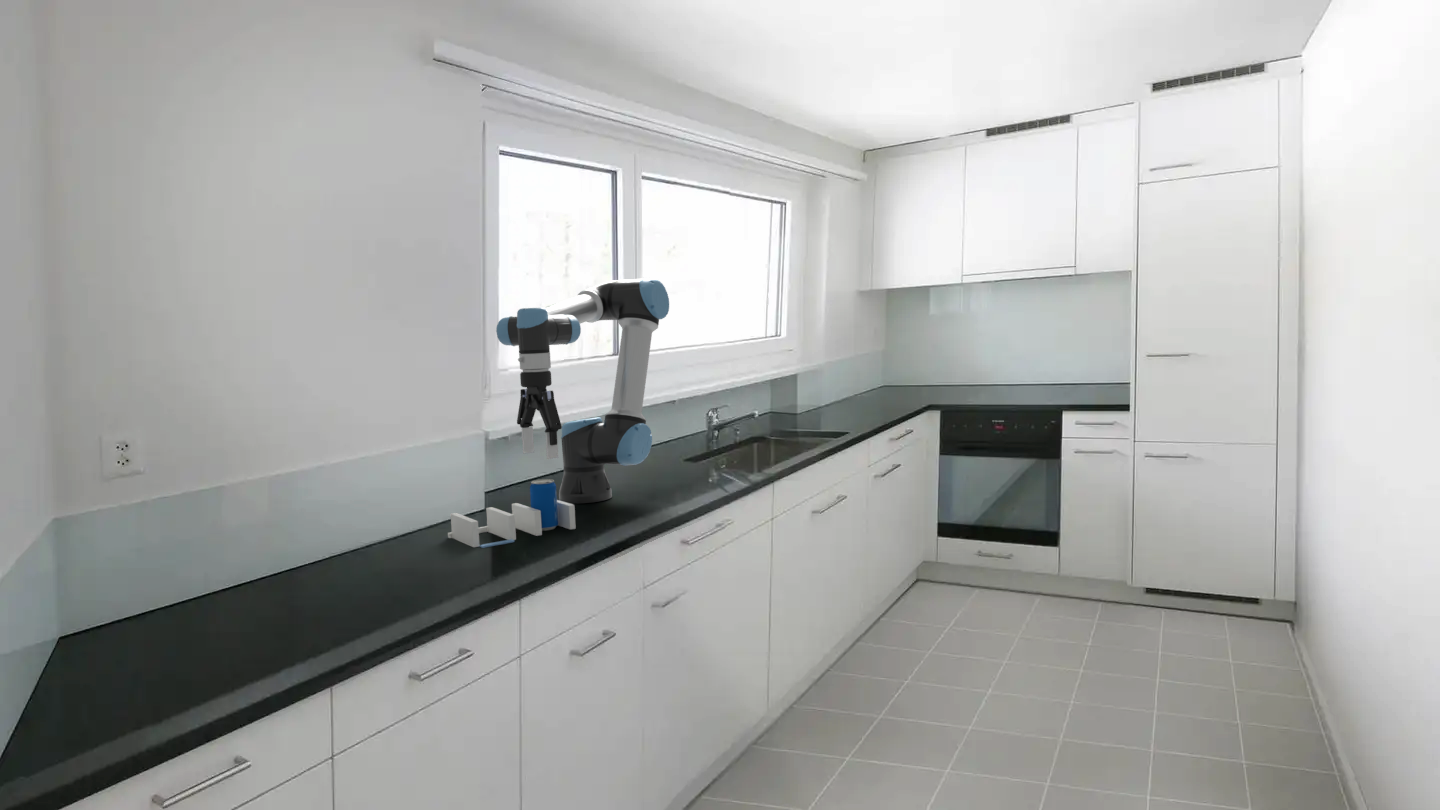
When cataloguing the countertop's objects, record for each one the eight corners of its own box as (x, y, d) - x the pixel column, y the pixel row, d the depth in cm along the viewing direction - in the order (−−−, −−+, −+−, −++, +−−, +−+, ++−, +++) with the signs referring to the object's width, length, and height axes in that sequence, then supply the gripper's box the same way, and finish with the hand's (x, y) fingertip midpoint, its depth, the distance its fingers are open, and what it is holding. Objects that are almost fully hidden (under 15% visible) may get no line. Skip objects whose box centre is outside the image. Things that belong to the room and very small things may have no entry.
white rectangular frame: (551, 519, 254) (550, 496, 253) (578, 528, 242) (576, 504, 242) (448, 537, 237) (446, 513, 237) (470, 547, 226) (469, 522, 225)
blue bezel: (511, 540, 231) (511, 539, 231) (514, 541, 230) (514, 540, 230) (479, 546, 227) (479, 545, 227) (482, 547, 225) (482, 546, 225)
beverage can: (552, 531, 240) (550, 483, 238) (528, 531, 241) (525, 483, 240) (562, 525, 246) (559, 478, 245) (538, 525, 247) (535, 479, 246)
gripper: (500, 370, 247) (505, 452, 249) (543, 372, 227) (549, 462, 229) (527, 368, 252) (532, 449, 254) (572, 370, 232) (577, 458, 234)
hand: (540, 455), depth 242 cm, fingers open, 13 cm apart
